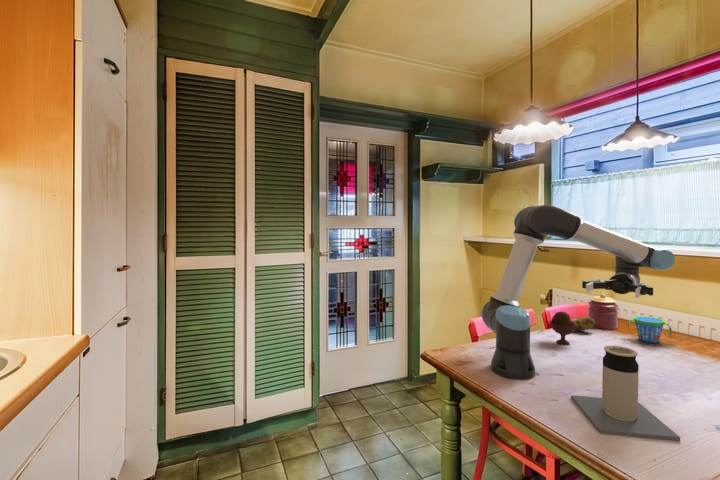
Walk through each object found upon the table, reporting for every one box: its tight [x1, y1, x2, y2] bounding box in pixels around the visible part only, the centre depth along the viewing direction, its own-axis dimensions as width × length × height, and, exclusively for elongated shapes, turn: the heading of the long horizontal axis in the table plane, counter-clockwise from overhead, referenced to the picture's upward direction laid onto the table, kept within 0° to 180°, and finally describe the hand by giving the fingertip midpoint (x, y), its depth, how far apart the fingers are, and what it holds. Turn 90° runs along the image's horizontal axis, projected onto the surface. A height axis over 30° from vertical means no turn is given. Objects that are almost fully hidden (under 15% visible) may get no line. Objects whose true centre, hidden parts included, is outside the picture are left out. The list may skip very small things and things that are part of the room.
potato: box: [571, 316, 595, 332], centre depth 170 cm, size 8×13×8 cm, turn 41°
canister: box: [587, 292, 619, 330], centre depth 178 cm, size 13×13×18 cm
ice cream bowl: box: [549, 310, 577, 346], centre depth 153 cm, size 11×11×15 cm
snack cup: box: [627, 315, 673, 344], centre depth 155 cm, size 16×10×10 cm
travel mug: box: [601, 345, 640, 420], centre depth 94 cm, size 8×8×18 cm
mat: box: [570, 394, 681, 442], centre depth 94 cm, size 18×18×1 cm
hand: (611, 291), depth 113 cm, fingers open, 13 cm apart
